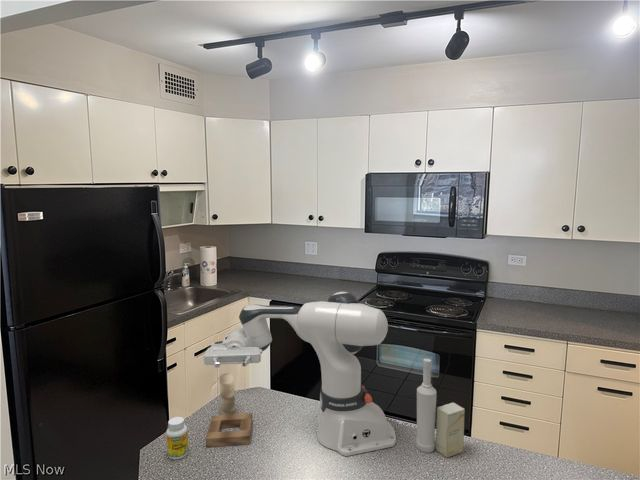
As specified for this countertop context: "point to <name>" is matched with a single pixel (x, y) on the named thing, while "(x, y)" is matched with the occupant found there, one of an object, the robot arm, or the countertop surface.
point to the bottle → (426, 411)
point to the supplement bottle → (177, 438)
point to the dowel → (227, 394)
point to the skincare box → (450, 429)
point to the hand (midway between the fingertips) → (230, 365)
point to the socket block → (229, 437)
